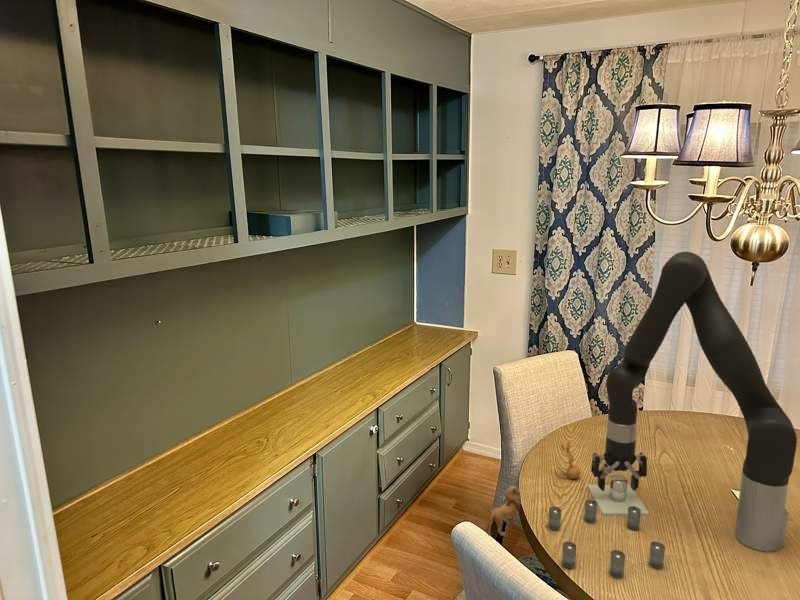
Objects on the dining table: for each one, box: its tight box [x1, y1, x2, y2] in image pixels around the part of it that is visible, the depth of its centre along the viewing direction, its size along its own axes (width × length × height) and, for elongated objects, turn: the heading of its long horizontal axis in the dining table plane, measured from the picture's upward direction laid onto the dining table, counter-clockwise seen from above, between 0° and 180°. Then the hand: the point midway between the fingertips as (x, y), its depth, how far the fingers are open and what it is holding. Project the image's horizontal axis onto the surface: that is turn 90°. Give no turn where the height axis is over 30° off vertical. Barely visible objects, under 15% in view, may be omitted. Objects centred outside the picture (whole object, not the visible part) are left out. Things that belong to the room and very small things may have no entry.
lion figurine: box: [485, 485, 522, 537], centre depth 141 cm, size 15×5×9 cm, turn 143°
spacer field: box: [548, 499, 666, 580], centre depth 133 cm, size 23×23×5 cm
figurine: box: [560, 439, 582, 480], centre depth 163 cm, size 8×6×12 cm
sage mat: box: [587, 483, 650, 516], centre depth 152 cm, size 12×14×1 cm
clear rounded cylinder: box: [609, 474, 628, 503], centre depth 151 cm, size 4×4×6 cm
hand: (617, 489), depth 151 cm, fingers open, 8 cm apart
